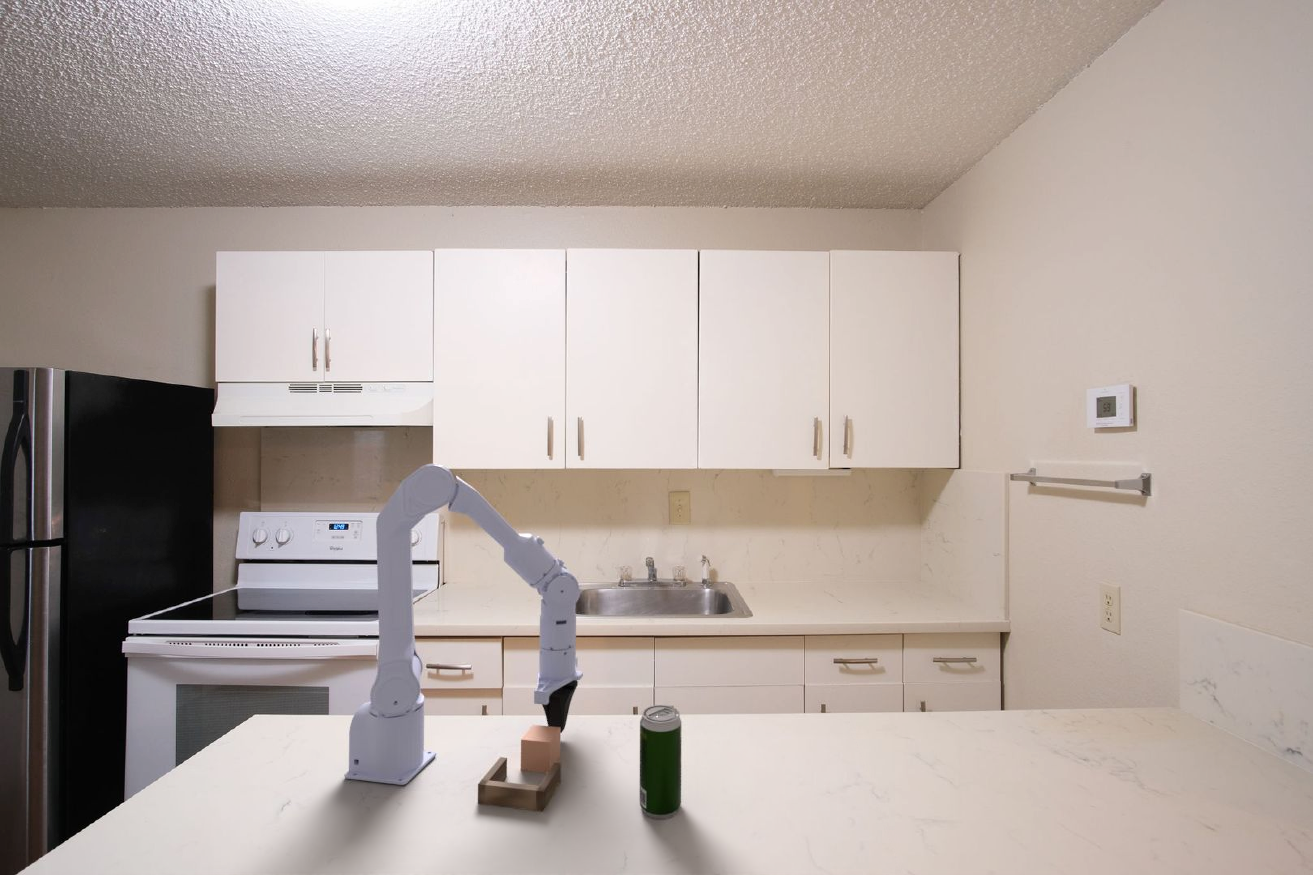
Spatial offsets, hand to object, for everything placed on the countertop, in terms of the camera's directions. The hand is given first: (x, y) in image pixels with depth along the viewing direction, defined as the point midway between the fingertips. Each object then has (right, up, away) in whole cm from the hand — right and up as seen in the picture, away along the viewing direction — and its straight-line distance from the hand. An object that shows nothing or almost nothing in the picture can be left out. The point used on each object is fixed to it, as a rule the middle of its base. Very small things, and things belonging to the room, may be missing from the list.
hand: (557, 730), depth 89 cm
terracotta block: (-1, -1, -7) cm, 7 cm away
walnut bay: (-2, -1, -14) cm, 14 cm away
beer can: (+16, -1, -17) cm, 24 cm away
